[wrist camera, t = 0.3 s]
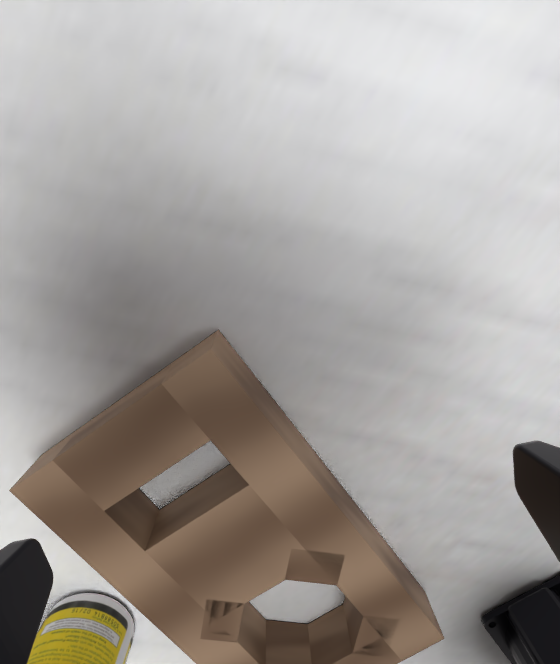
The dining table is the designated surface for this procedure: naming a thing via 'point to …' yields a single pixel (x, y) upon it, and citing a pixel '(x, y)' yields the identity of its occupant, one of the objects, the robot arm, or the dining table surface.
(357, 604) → the socket board
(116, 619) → the supplement bottle
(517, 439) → the dining table surface
